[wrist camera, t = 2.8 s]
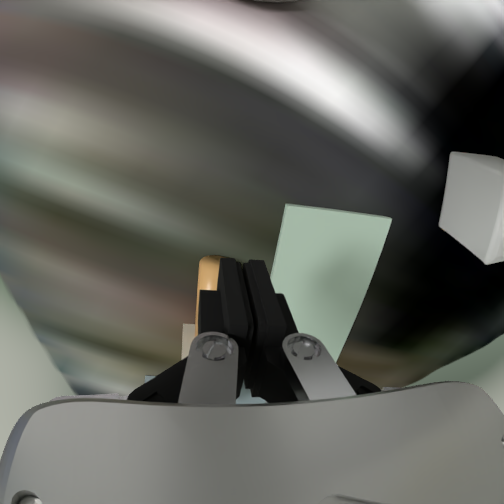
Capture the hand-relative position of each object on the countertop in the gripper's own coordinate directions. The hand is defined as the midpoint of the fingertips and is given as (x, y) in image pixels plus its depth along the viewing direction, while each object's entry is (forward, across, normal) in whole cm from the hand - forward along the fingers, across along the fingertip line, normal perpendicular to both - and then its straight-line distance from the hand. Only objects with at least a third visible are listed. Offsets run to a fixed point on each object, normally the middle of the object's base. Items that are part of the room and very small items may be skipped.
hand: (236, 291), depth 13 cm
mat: (+11, -9, +9) cm, 17 cm away
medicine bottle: (+11, -22, -4) cm, 25 cm away
